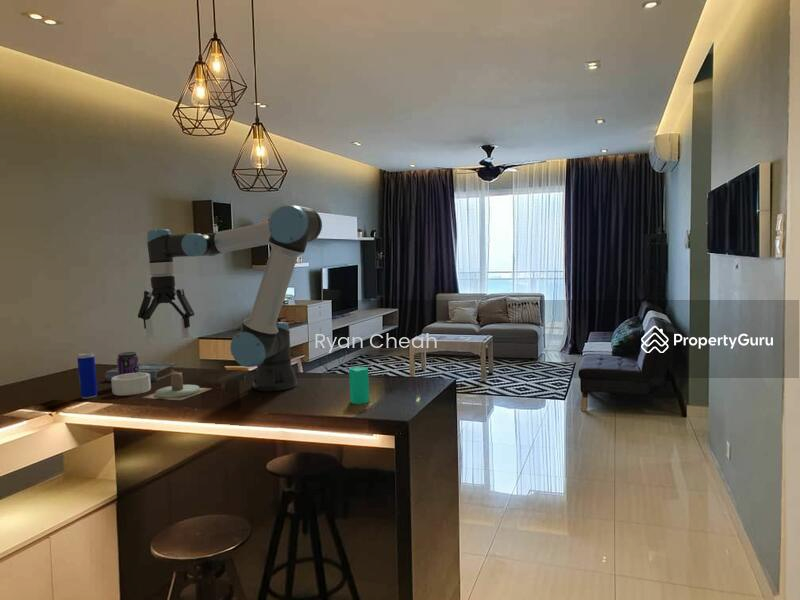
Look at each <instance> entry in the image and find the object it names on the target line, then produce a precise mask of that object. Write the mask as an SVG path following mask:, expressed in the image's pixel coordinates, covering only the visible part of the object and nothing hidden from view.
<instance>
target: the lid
mask: <svg viewBox="0 0 800 600" xmlns="http://www.w3.org/2000/svg"><path fill="white" fill-rule="evenodd" d="M183 378H184V377H183V372H180V371H179V372H178V371H177V373H172V374H171V375H170V381H171V383H170V384H171V385H169V386H165V387H162V388H159V389H157V390H155V391H154V393H156V397H159V398H178V397H185V396H189V395H193V394H196V393H198V392H199V391H200V390H199V388H200V386H199V385H196V384H184V380H183Z"/></svg>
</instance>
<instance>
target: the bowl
mask: <svg viewBox="0 0 800 600" xmlns="http://www.w3.org/2000/svg"><path fill="white" fill-rule="evenodd" d="M110 382H111V392H112V395H115V396H133V395H139V394H143V393H146V392H149V391H151V388H152V384H151V383H152V381H151V380H150V374H149V373H141V372H140V373H128V374H122V375H118V376H114V377H112V378H111V381H110Z"/></svg>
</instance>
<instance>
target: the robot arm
mask: <svg viewBox="0 0 800 600" xmlns="http://www.w3.org/2000/svg"><path fill="white" fill-rule="evenodd" d="M322 228H323V222H322V218H321V216H320V214H319V212H317V211H316V210H314V209H313V208H310V207H307V206H302V205H296V204H285V205H282V206H280V207H278V208H276V209H275V210H274V211H272V213H271V215H270V217H269V220H268V221H266V222H261V223H257V224H251V225H245V226H242V227H241V226H240V227H236V228H235V227H234V228H231V229H227V230H221V231H215V232H211V233H204V234H201V233H195V232H189V233H182V234H181V233H179V234H178V233H177V234H172V233H171V230H170V229H167V228H165V229H160V228H159V229H149V230H148V231H147V233H146V240H147V241H146V245H147V251H148V261H149V262H148V263H149V275H150V276H151V278H150V287H151V288H152V290H149V289H148V290H144V292H143V299H142V302H141V303H140V304H141V305H140V308H139V311H138V313H137V318H138V319H142V320H143V328H144V329H145V330H146V331H145V332H146V339H147V340H150V339H153V338H155V333H154V323H153V319H152V315H153V314H154V312H155V310H157V307H158V306H159V305H160V304H170V305H172V307H173V308H174V309H175V311H177V313H179V315H180V316H181V318H180V328H181V338H182V339H187V338H189V336H190V333H189V328H190V326H191V323H190V318H191V317H193V316H195V312H194V310H193V308H192V307H191V304H190V303H189V301H188V299H187V297H186V294H185V289H184V288H178V289H176V288H175V286H176V280H175V278H176V277H175V276H174V275H173V274H174V273H175V270H174V269H175V268H174V258H181V257H182V258H186V257H187V258H189V257H202V256H203V257H204V256H205V257H206V256H208V257H213V256H217V255H219V254H223V253H229V252H234V251H239V250H245V249H251V248H255V247H256V248H257V247H261V246H262V247H263V246H266V245H270V247H271V248H270V249H271V250H270V252H269V256H268V259H267V262H266V265H265V267H264V268H265V269H264V270H263V274H262V277H261V280H260V284H259V287H258V291H257V293H256V296H255V300H254V302H253V306H252V309H251V312H250V316H248V317H247V318H245V319H244V320H243V322H242V325H241V328H240V330H239V332H238V333H237V334H235V335H234V337H233V338H232V339H231V341H230V354H231V355H232V357H233V359H234V361H236V362H237V364H238V365H240V366H243V367H245V368H253V367H256V369H255V374H254V377H253V381H252V386H253V391H254V390H255V391H257V392H278V391H286V390H289V389H294V388H295V387H297V386H298V381H297V380H298V379H297V375H296V373H295V371H294V368H293V366H292V359H291V341H290V340H291V338H290V334H291V331H290V326H289V324H288V323H287V322H286V321H278V319H279V315H280V312H281V310H282V306H283V304H284V300H285V296H286V295H287V290H288V287H289V285H290V281H291V278H292V275H293V272H294V270H295V266H296V264H297V260H298V257H299V256H301V255H303V254H305V251H306V247H307V245H308V243H310V242H313V241H314V240H316V239H317V238H318V237H319V236H320V235H321V232H322ZM176 296H177V297H176ZM152 297H153V299H152Z"/></svg>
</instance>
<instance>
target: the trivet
mask: <svg viewBox="0 0 800 600" xmlns="http://www.w3.org/2000/svg"><path fill="white" fill-rule="evenodd" d="M212 389H213V388H208V387H199V390H200V391H199V392H198V393H196V394H193V395H189V396H185V397H178V398H159V397H156V393H155V392H154V393H151V394H148V395H145V396H142V397H141V398H142V399H156V400H157V399H158V400H171V401H183V400H185V399H189V398H191V397H194V396H197V395H199V394H202V393H204V392H208V391H210V390H212Z"/></svg>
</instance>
